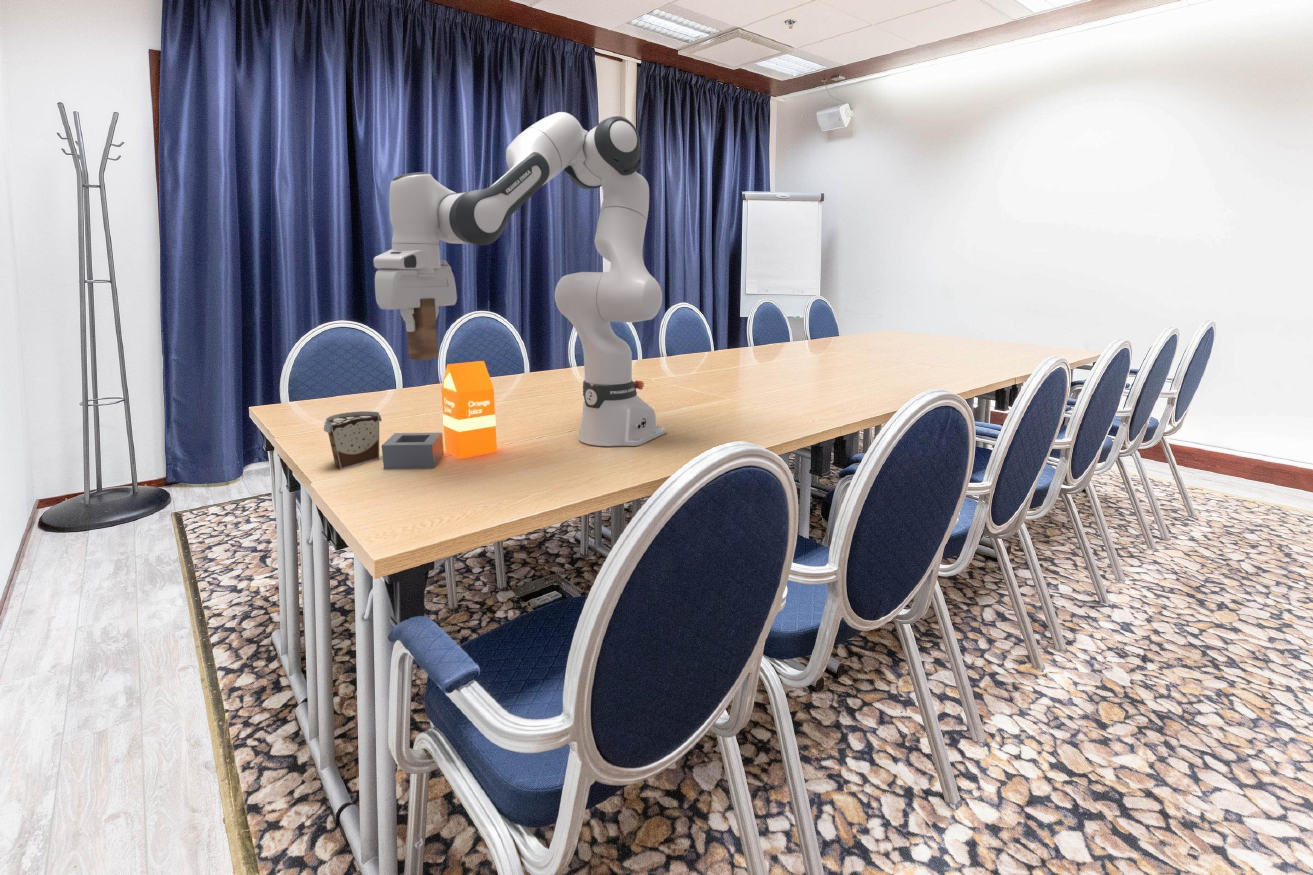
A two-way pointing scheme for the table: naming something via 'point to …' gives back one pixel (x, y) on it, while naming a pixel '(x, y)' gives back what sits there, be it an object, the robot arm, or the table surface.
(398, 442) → the socket
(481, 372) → the orange juice
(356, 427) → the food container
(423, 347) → the peg
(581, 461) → the table surface
